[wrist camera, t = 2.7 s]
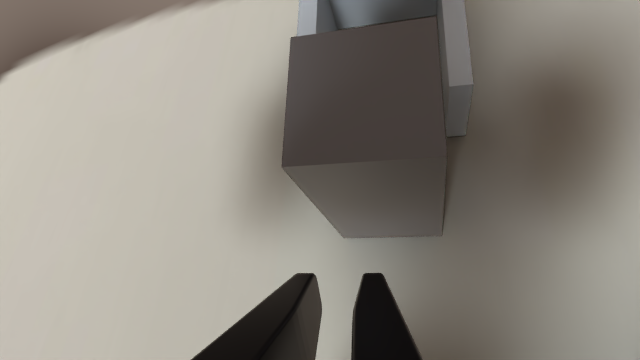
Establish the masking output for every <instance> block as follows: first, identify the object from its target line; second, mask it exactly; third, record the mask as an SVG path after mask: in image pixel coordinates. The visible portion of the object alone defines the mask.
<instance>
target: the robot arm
mask: <svg viewBox="0 0 640 360" xmlns="http://www.w3.org/2000/svg"><path fill="white" fill-rule="evenodd" d="M321 316H322V304H321V298H320V293H319V287H318V282H317V278H316V276H315V275H314V274H313V273H297V274H295V275H294V276H293V277H291V278H290V279H289V280H288V281H287V282H285V283H284V284H283V285H282V286H280V287H279V288H278V289H277V290H276V291H274V292H273V293H272V294H271V295H269V296H268V297H267V298H266V299H265V300H263V301H262V302H261V303H260V304H258V305H257V306H256V307H255V308H254V309H252V310H251V311H250V312H249V313H247V314H246V315H245V316H244V317H243V318H241V319H240V320H239V321H238V322H236V323H235V324H234V325H233V326H232V327H230V328H229V329H228V330H227V331H225V332H224V333H223V334H222V335H221V336H219V337H218V338H217V339H216V340H214V341H213V342H212V343H211V344H210V345H208V346H207V347H206V348H205V349H203V350H202V351H201V352H200V353H199V354H197V355H196V356H195V357H194V358H192V359H191V360H315V357H316V350H317V343H318V336H319V330H320V323H321ZM351 360H423V359H422V356H421V354H420V352H419V350H418V348H417V346H416V344H415V342H414V339H413V337H412V335H411V333H410V331H409V329H408V327H407V324H406V322H405V320H404V318H403V316H402V314H401V312H400V309H399V307H398V305H397V303H396V301H395V299H394V297H393V294H392V292H391V290H390V288H389V286H388V284H387V282H386V279H385V277H384V275H383V274H381V273H365V274H363V276H362V279H361V283H360V287H359V290H358V294H357V298H356V301H355V305H354V310H353V321H352V355H351Z"/></svg>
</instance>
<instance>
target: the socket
mask: <svg viewBox="0 0 640 360" xmlns="http://www.w3.org/2000/svg"><path fill="white" fill-rule="evenodd" d="M434 15H437V24H438V37H439V49H440V62H441V75H442V87H443V100H444V112H445V125H446V137H451V136H464V135H466V130H467V124H468V117H469V110H470V104H471V97H472V90H473V75H472V66H471V57H470V48H469V39H468V30H467V20H466V11H465V2H464V0H299V11H298V27H297V36H303V35H310V34H317V33H324V32H331V31H338V29H345V28H352V27H359V26H365V25H372V24H379V23H386V22H393V21H400V20H407V19H414V18H421V17H427V16H434Z"/></svg>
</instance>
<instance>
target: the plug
mask: <svg viewBox="0 0 640 360" xmlns="http://www.w3.org/2000/svg"><path fill="white" fill-rule="evenodd" d="M446 166H447V148H446V135H445V122H444V109H443V97H442V84H441V71H440V58H439V45H438V33H437V20H436V16H435V17H428V18H421V19H414V20H407V21H400V22H393V23H386V24H379V25H373V26H366V27H359V28H352V29H345V30H338V31H331V32H324V33H317V34H310V35H303V36H296V37H291V42H290V56H289V70H288V84H287V98H286V112H285V127H284V141H283V155H282V168H283V169H284V171H285V172H286V173H287V174H288V175H289V176H290V177H291V179H292V180H293V181H294V182H295V183H296V184H297V185H298V187H299V188H300V189H301V190H302V191H303V192H304V193H305V194H306V196H307V197H308V198H309V199H310V200H311V201H312V202H313V204H314V205H315V206H316V207H317V208H318V209H319V210H320V212H321V213H322V214H323V215H324V216H325V217H326V218H327V220H328V221H329V222H330V223H331V224H332V225H333V226H334V228H335V229H336V230H337V231H338V232H339V233H340V234H341V236H342V237H343V238H369V237H413V236H442V226H443V211H444V196H445V181H446Z"/></svg>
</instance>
